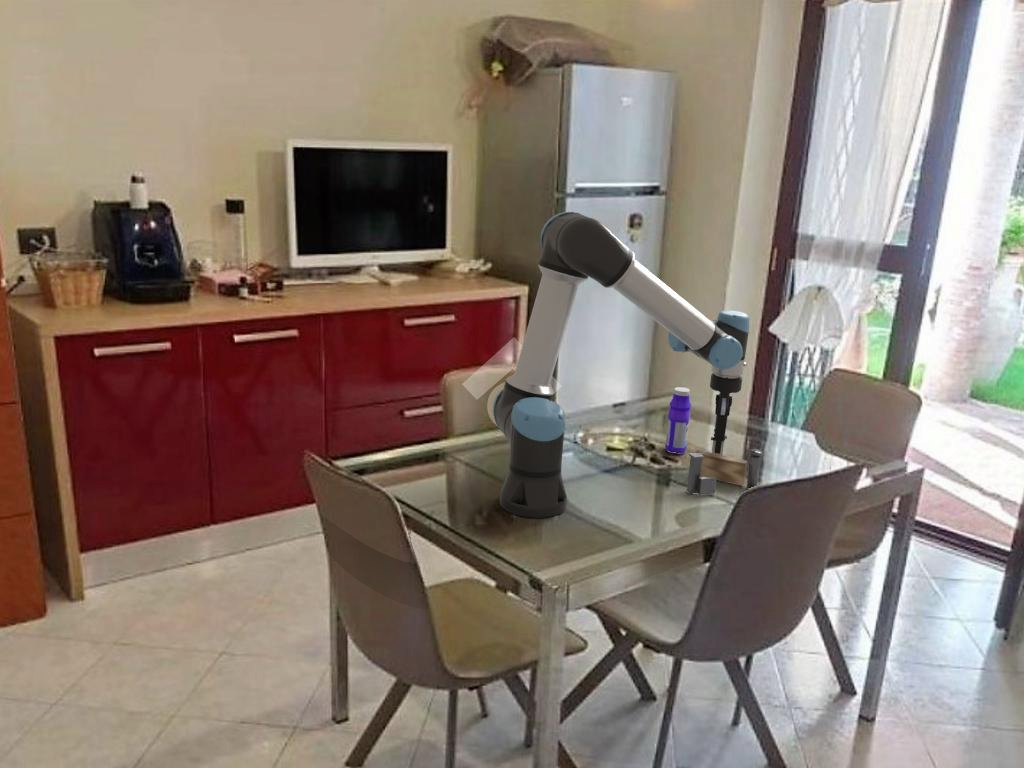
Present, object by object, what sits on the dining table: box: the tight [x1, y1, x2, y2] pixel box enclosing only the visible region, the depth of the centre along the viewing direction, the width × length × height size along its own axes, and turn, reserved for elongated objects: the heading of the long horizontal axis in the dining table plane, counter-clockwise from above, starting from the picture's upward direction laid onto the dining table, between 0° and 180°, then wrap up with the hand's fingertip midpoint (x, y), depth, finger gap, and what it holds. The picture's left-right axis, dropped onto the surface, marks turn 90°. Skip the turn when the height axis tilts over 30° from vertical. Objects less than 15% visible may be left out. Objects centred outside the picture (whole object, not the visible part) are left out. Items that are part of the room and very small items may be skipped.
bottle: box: [664, 386, 692, 454], centre depth 237 cm, size 7×6×17 cm
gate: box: [694, 449, 749, 486], centre depth 220 cm, size 13×2×6 cm, turn 62°
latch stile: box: [686, 452, 718, 496], centre depth 211 cm, size 6×4×10 cm
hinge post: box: [746, 448, 764, 489], centre depth 216 cm, size 3×3×10 cm
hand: (715, 463), depth 225 cm, fingers closed
